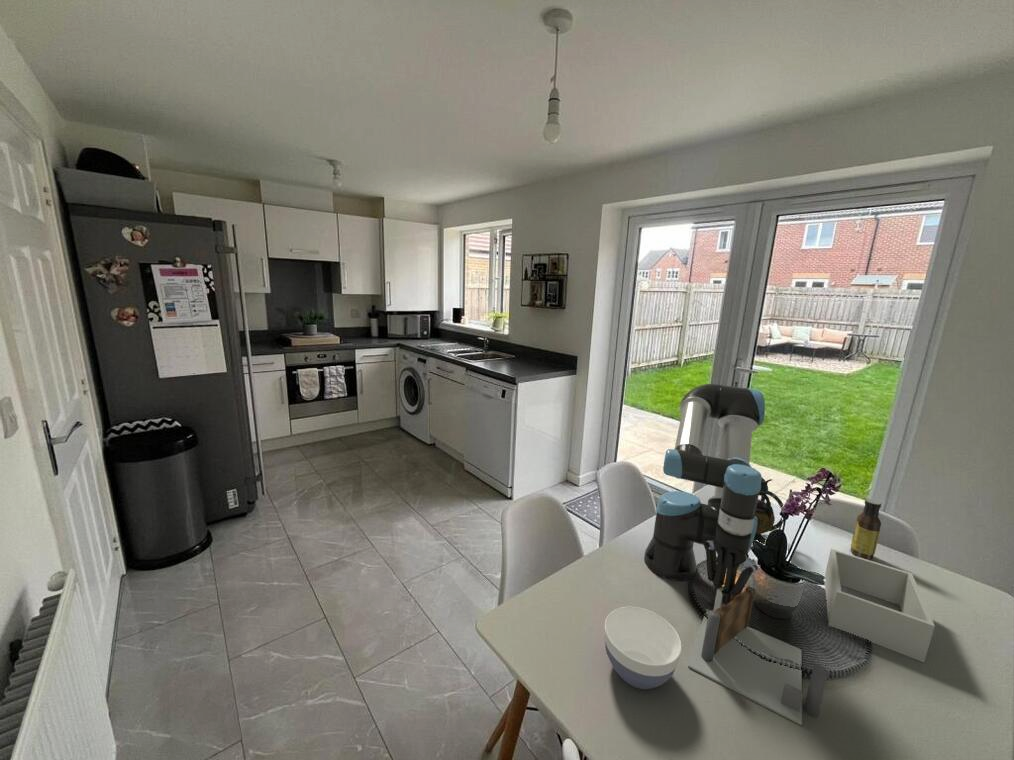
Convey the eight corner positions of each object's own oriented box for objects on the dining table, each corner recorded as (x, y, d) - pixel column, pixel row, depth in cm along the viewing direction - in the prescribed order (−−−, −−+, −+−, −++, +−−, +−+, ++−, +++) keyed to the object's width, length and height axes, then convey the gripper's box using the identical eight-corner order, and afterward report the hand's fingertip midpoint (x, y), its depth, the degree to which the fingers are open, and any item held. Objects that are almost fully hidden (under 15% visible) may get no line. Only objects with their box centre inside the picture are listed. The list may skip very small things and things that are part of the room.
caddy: (828, 625, 107) (836, 591, 105) (824, 577, 126) (830, 548, 124) (924, 662, 97) (934, 626, 95) (903, 604, 116) (911, 573, 114)
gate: (714, 653, 95) (721, 615, 93) (708, 648, 96) (715, 610, 94) (748, 625, 104) (755, 589, 102) (742, 621, 105) (748, 585, 103)
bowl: (667, 720, 80) (674, 680, 78) (590, 678, 88) (594, 640, 86) (681, 662, 93) (687, 626, 91) (613, 630, 101) (617, 596, 100)
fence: (688, 667, 92) (695, 621, 90) (706, 610, 110) (712, 570, 108) (819, 734, 79) (832, 683, 77) (815, 657, 97) (825, 613, 94)
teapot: (784, 543, 144) (797, 482, 139) (728, 553, 136) (739, 488, 132) (755, 525, 155) (765, 468, 150) (701, 533, 147) (711, 473, 143)
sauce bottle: (858, 548, 143) (871, 496, 139) (878, 559, 137) (892, 505, 133) (844, 550, 142) (857, 497, 138) (863, 561, 136) (877, 506, 132)
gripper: (700, 518, 104) (687, 599, 109) (751, 546, 93) (735, 635, 98) (718, 512, 108) (705, 591, 112) (770, 538, 97) (753, 624, 101)
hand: (719, 611), depth 105 cm, fingers closed
